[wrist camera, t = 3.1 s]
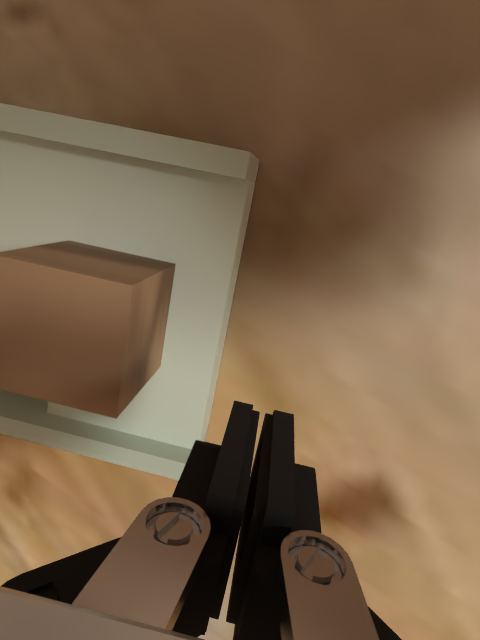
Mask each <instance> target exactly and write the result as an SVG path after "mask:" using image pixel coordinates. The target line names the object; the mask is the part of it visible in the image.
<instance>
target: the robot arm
mask: <svg viewBox="0 0 480 640" xmlns="http://www.w3.org/2000/svg"><path fill="white" fill-rule="evenodd" d="M252 409H253V405H251V404H247V403H242V402H238V401H234V404H233V407H232V411H231V414H230V418H229V421H228V424H227V428H226V431H225V435H224V438H223V442H222V445H221V446H220V445H216V444H212V443H208V442H204V441H199V440H195V442H194V445H193V447H192V450H191V452H190V455H189V457H188V459H187V462H186V464H185V467H184V469H183V472H182V474H181V476H180V479H179V481H178V484H177V486H176V489H175V491H174V494H173V496H172V497H166V498H162V499H157V500H155V501H153V502H151V503H149V504H148V505H147V506H145V507H144V508H143V509H142V510H141V512H140V513H139V514H138V516H137V517H136V518H135V520H134V521H133V522H132V524H131V525H130V526H129V528H128V529H127V530H126V532H125V533H124V534H123V536H122V537H120V538H117V539H114V540H112V541H109V542H106V543H103V544H101V545H98V546H95V547H93V548H90V549H87V550H85V551H82V552H79V553H77V554H74V555H71V556H69V557H66V558H63V559H61V560H58V561H55V562H52V563H50V564H47V565H44V566H42V567H39V568H36V569H34V570H31V571H28V572H26V573H23V574H21V575H19V576H17V577H15V578H13V579H11V580H9V581H7V582H6V583H4V584H3V585H2V586H0V640H204V639H200V638H197V637H198V636H200V635H205V632H206V630H207V626H208V621H209V617H211V618H214V619H219V615H220V611H221V606H222V602H223V598H224V594H225V590H226V585H227V581H228V577H229V573H230V569H231V564H232V560H233V556H234V552H235V548H236V543H237V539H238V535H239V540H238V547H237V553H236V560H235V566H234V573H233V579H232V586H231V592H230V598H229V605H228V611H227V618H226V622H229V623H233V624H235V628H234V636H233V640H402V639H401V638H400V637H399V636H398V635H397V634H396V633H395V632H394V631H393V630H392V629H391V628H390V627H389V626H387V625H386V624H385V623H384V622H383V621H382V620H381V619H380V618H379V617H378V616H377V615H376V614H375V613H374V612H373V611H372V610H371V609H370V608H369V607H368V606H367V603H366V600H365V597H364V594H363V591H362V588H361V585H360V583H359V580H358V577H357V574H356V571H355V568H354V565H353V563H352V561H351V559H350V557H349V555H348V553H347V552H346V551H345V550H344V549H343V548H342V547H341V545H339V544H338V543H337V542H335V541H334V540H333V539H331V538H330V537H328V536H326V535H324V534H321V524H320V514H319V503H318V493H317V483H316V473H315V469H314V468H312V467H308V466H304V465H299V464H295V458H294V414H289V413H285V412H281V411H277V410H274V412H273V415H271V414H267V413H266V414H265V417H264V422H263V426H262V430H261V434H260V438H259V443H258V447H257V451H256V455H255V460H254V464H253V468H252V472H251V467H252V460H253V454H254V447H255V440H256V433H257V427H258V420H259V413H260V412H258V411H254V410H252ZM250 474H251V476H250ZM249 480H250V481H249ZM240 527H241V528H240ZM239 531H240V534H239Z"/></svg>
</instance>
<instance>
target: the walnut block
mask: <svg viewBox="0 0 480 640" xmlns="http://www.w3.org/2000/svg"><path fill="white" fill-rule="evenodd" d="M175 265H176V264H175V263H170V262H165V261H161V260H156V259H152V258H147V257H143V256H138V255H134V254H129V253H124V252H120V251H115V250H111V249H106V248H102V247H97V246H93V245H88V244H83V243H79V242H74V241H70V240H67V241H62V242H56V243H50V244H44V245H38V246H32V247H27V248H21V249H15V250H9V251H3V252H0V389H1V390H4V391H8V392H12V393H16V394H20V395H24V396H28V397H32V398H36V399H40V400H44V401H48V402H52V403H56V404H60V405H64V406H68V407H72V408H76V409H80V410H84V411H88V412H92V413H96V414H100V415H103V416H107V417H111V418H115V419H117V417H118V416H119V415H120V414H121V413H122V412H123V410H124V409H125V408H126V407H127V406H128V404H129V403H130V402H131V401H132V400H133V399H134V397H135V396H136V395H137V394H138V393H139V391H140V390H141V389H142V388H143V387H144V386H145V384H146V383H147V382H148V381H149V380H150V378H151V377H152V376H153V375H154V374H155V373H156V371H157V370H158V369H159V368H160V366H161V360H162V353H163V346H164V340H165V333H166V326H167V319H168V313H169V306H170V299H171V292H172V286H173V279H174V272H175Z"/></svg>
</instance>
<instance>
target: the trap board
mask: <svg viewBox="0 0 480 640" xmlns="http://www.w3.org/2000/svg"><path fill="white" fill-rule="evenodd" d="M259 162H260V160H259V159H258V158H257V157H256V156H255V155H253V154H252V153H251V152H250V151H245V150H240V149H235V148H230V147H224V146H219V145H214V144H209V143H204V142H199V141H194V140H189V139H183V138H178V137H173V136H168V135H163V134H158V133H153V132H148V131H142V130H137V129H132V128H127V127H122V126H117V125H112V124H107V123H101V122H96V121H91V120H86V119H81V118H76V117H71V116H65V115H60V114H55V113H50V112H45V111H40V110H35V109H30V108H24V107H19V106H14V105H9V104H4V103H0V252H3V251H9V250H15V249H21V248H27V247H32V246H38V245H44V244H50V243H56V242H62V241H67V240H70V241H74V242H79V243H83V244H88V245H93V246H97V247H102V248H106V249H111V250H115V251H120V252H124V253H129V254H134V255H138V256H143V257H147V258H152V259H156V260H161V261H165V262H170V263H175V264H176V265H175V272H174V279H173V286H172V292H171V299H170V306H169V313H168V319H167V326H166V333H165V340H164V346H163V353H162V360H161V366H160V368H159V369H158V370H157V371H156V373H155V374H154V375H153V376H152V377H151V378H150V380H149V381H148V382H147V383H146V384H145V386H144V387H143V388H142V389H141V390H140V391H139V393H138V394H137V395H136V396H135V397H134V399H133V400H132V401H131V402H130V403H129V404H128V406H127V407H126V408H125V409H124V410H123V412H122V413H121V414H120V415H119V416H118V417H117V419H115V418H111V417H107V416H103V415H100V414H96V413H92V412H88V411H84V410H80V409H76V408H72V407H68V406H64V405H60V404H56V403H52V402H48V401H44V400H40V399H36V398H32V397H28V396H24V395H20V394H16V393H12V392H8V391H4V390H1V389H0V434H3V435H7V436H11V437H15V438H19V439H22V440H26V441H30V442H34V443H38V444H41V445H45V446H49V447H53V448H57V449H61V450H64V451H68V452H72V453H76V454H80V455H84V456H87V457H91V458H95V459H99V460H103V461H107V462H110V463H114V464H118V465H122V466H126V467H129V468H133V469H137V470H141V471H145V472H149V473H152V474H156V475H160V476H164V477H168V478H172V479H175V480H179V479H180V476H181V474H182V472H183V469H184V467H185V464H186V462H187V459H188V457H189V455H190V452H191V450H192V447H193V445H194V442H195V440H199V441H204V442H205V440H206V435H207V430H208V425H209V419H210V414H211V409H212V404H213V399H214V394H215V388H216V383H217V378H218V373H219V368H220V363H221V358H222V352H223V347H224V342H225V337H226V332H227V327H228V322H229V316H230V311H231V306H232V301H233V296H234V291H235V285H236V280H237V275H238V270H239V265H240V260H241V255H242V249H243V244H244V239H245V234H246V229H247V224H248V218H249V213H250V208H251V203H252V198H253V193H254V188H255V182H256V177H257V172H258V167H259Z"/></svg>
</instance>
